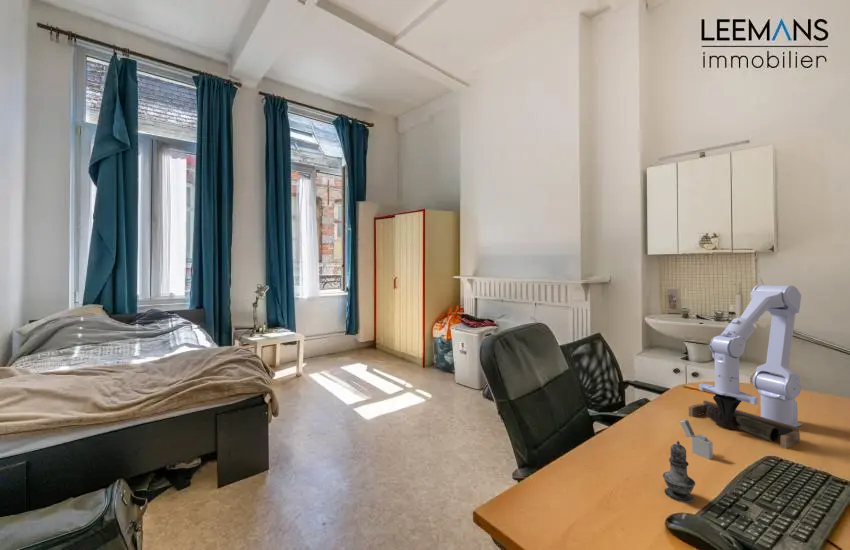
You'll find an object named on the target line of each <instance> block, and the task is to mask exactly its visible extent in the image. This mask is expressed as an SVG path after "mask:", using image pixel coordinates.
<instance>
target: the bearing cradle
mask: <svg viewBox="0 0 850 550" xmlns="http://www.w3.org/2000/svg"><path fill="white" fill-rule="evenodd" d="M708 406H713V407H716V406H718V405H717V403H716V402H712V401H709V400H703V403H696V404H694V405H689V406H688V416H689V415H690V417H692V418H693V417H696V415H697V416H700V415H699V414H701V415H703V414H702V413H704V414H706V411H707V408H708ZM734 414H736V415H737V416H743V417H746V418H749V419H752V420H755V421H758V422H761V423H764V424H767V425H770V426H773V427H776V428H778V429H779V432H778V433H780V436H779V438H780V447H781V448H783V449H789V448H791V447H792V448H793V446H796V445H799V444H800V443H801V442H800V441H801V439H800V434H801V433H800V428H799V426H797V427H795V426H791V425H788V424H784V423H781V422H778V421H774V420H771V419H767V418H764V417H761V415H756V414H753V413H750V412H747V411H743V410H739V409H736V410H735V412H734Z"/></svg>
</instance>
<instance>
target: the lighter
mask: <svg viewBox="0 0 850 550" xmlns="http://www.w3.org/2000/svg"><path fill="white" fill-rule="evenodd" d="M679 423H680V425H681V428H682V430H683V432H684V434H685V436H686V437H687V438H691V453H692V454H695V455H697V456H699V457H702V458H705V459H707V460H711V459H714V458H713V456H714V455H713V453H714V452H713V450H714V449H713V444H714V443H713V441H712V440H709V439H708V437H707V435H704V434H701V433H697V434H695V432H694V430H693V428H692V425H691V424H690V422H689V420H688V419H682V420H680V421H679Z"/></svg>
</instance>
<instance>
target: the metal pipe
mask: <svg viewBox="0 0 850 550" xmlns="http://www.w3.org/2000/svg"><path fill="white" fill-rule="evenodd" d="M705 415H706V416H707V417H708V418H710V419H711V420H712V421H713V422H714V423H715V425H716V426H718V427H720V428H723V429H726V430H732V429H733V430H736V429H739V430H741V431H744V432H747V433H750V434H751V435H754V436H757V437H759V438H762V439H764V440H767V441H769V442H777V441H778V440H779V438H780V437H779V436H780V433H778V432H779V429H778V428H776V427H773V426H770V425H767V424H764V423H761V422H758V421H755V420H752V419H749V418H746V417H743V416H737V415H736V414H734V415H733V418H732V421H729V422H727V421H724V420H723V418H722V415H721V412H720V409H719V407H718V406H716V407H713V406H708V408H707V411H706V413H705Z"/></svg>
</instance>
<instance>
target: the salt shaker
mask: <svg viewBox="0 0 850 550" xmlns="http://www.w3.org/2000/svg"><path fill="white" fill-rule="evenodd" d="M668 462H669V463H670V464H669V466H670V469H669V471H665V472H663V474H662V477H663V479H664V482H665V484H666V486H667V487H666V488H664V493H665V495H666V496H667V497H669V498H670V499H672V500H674V501H677V502H679V503H686V504H687V503H689V504H690V503H693V502H694V501H695V497H694V496H693V495H692V494H691V493H692V492H693V489H694V487H695V486H696V481H695V480H694V479H693V478H692V477H690V476H689V475H688V466H689V462H688V461H687V449H686V447H685V446H684V445H682V444H681V443H680V441H679V440H677V441H676V443H674V444H671V445H670V457H669V458H668Z"/></svg>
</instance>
